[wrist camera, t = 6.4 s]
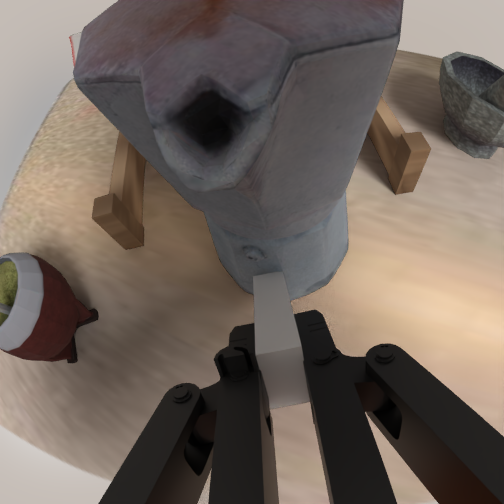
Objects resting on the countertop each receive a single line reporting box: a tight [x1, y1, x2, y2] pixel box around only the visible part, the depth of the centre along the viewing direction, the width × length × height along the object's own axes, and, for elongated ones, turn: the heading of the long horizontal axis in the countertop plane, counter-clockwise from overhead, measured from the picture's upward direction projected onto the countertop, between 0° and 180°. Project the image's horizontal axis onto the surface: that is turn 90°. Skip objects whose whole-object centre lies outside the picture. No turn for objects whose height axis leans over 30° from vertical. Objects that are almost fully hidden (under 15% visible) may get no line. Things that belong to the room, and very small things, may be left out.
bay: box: [92, 96, 431, 250], centre depth 24 cm, size 17×23×5 cm
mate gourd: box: [0, 253, 98, 363], centre depth 15 cm, size 8×8×15 cm
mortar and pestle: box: [439, 52, 504, 159], centre depth 18 cm, size 11×9×12 cm
